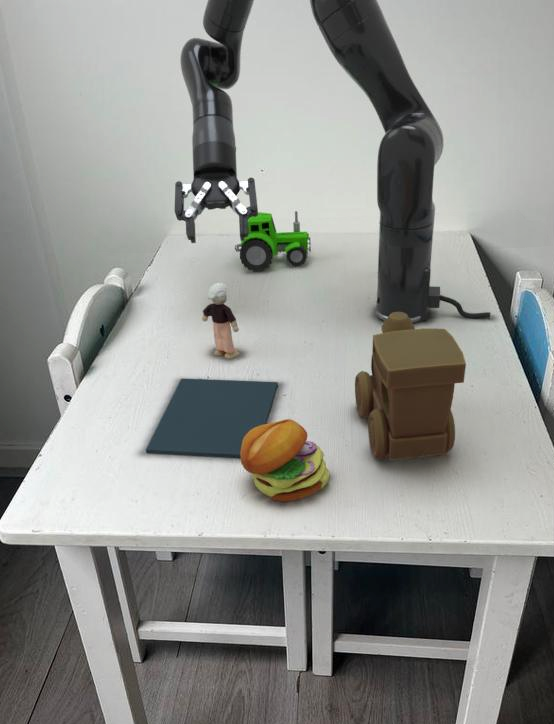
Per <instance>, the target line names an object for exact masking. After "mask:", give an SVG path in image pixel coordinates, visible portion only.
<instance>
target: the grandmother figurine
mask: <svg viewBox="0 0 554 724" xmlns="http://www.w3.org/2000/svg"><path fill="white" fill-rule="evenodd" d="M227 292H228V291H227V287H226V285H225V284H224V283H222V282H216V283H214V284H212V286H211V287H209V289H208V291H207V294H206V298H207V300H209V301H211V302H212V303H210V304H208V305H207V306H206V307H205V308H204V309H203V310H202V317H201V321H203V322H207V321H208V320H209V317H211V321H212V329H213V330H212V331H213V339H214V344H215V349H216V350H215V351H214V353H213V354H214V356H216V357H220V356H223V355H224V358H225V359H227V360H230V359H233V358H236V357H239V356H240V354H241V353H240V351H239V350H238V349H236V348H235V347H234V341H233V335H232V331H233V332H234V333H238V332H239V331H240V327H239V326H238V322H237V318H236V316H235V315H234V312H233V311H232V308H230V307H229V306H228V305H226V302H227V300H228V299H227V298H228V295H227Z"/></svg>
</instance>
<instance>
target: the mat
mask: <svg viewBox="0 0 554 724" xmlns="http://www.w3.org/2000/svg"><path fill="white" fill-rule="evenodd" d="M278 385H279V383H278V381H261V380H260V381H259V380H258V381H256V380H234V379H233V380H232V379H231V380H230V379H204V378H203V379H202V378H180V380H179V382H178V385H177V387H176V389H175V391H174V393H173V395H172V397H171V399H170V401H169V402H168V405H167V407H166V408H165V410H164V412H163V414H162V417H161V419H160V421H158V424H157V426H156V429H155V430H154V432H153V434H152V437H151V438H150V440H149V442H148V444H147V446H146V448H145V453H146V454H162V455H178V456H179V455H180V456H196V457H197V456H198V457H199V456H201V457H215V458H232V459H233V458H235V459H241V455H240V452H241V446H242V441H243V439H244V437H245V436H246V434H247V433H248V432H249V431H250V430H252V429H253V428H255V427H258V426H261V425H264V424H268V423H267V422H268V419H269V416H270V412H271V409H272V406H273V403H274V399H275V396H276V393H277V389H278Z"/></svg>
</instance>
